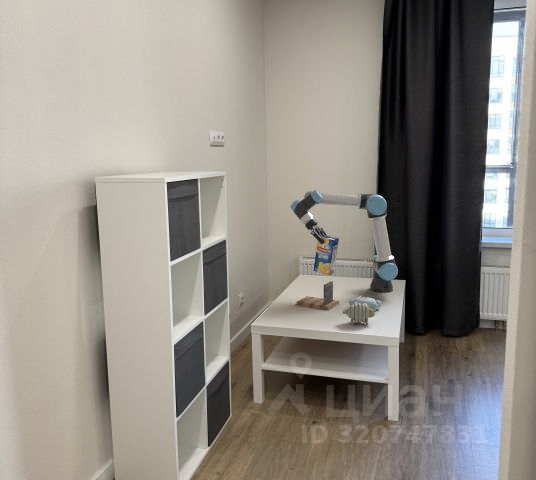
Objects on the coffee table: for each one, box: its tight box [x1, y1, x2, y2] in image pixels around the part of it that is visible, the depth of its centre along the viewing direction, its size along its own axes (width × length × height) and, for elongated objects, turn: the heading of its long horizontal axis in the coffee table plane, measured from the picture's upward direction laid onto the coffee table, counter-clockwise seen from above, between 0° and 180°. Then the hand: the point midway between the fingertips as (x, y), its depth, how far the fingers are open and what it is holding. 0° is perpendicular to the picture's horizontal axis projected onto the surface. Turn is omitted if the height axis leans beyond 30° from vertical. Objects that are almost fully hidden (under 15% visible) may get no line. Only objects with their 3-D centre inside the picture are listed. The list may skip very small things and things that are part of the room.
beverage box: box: [312, 235, 340, 276], centre depth 325 cm, size 7×11×22 cm, turn 58°
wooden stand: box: [295, 281, 340, 311], centre depth 320 cm, size 22×14×14 cm, turn 59°
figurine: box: [348, 295, 382, 312], centre depth 309 cm, size 17×8×20 cm
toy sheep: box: [342, 303, 375, 326], centre depth 285 cm, size 11×17×11 cm, turn 89°
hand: (333, 251), depth 322 cm, fingers closed on beverage box, 2 cm apart
